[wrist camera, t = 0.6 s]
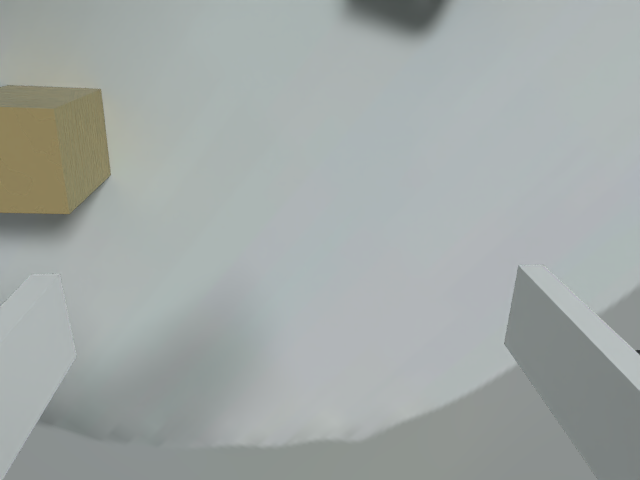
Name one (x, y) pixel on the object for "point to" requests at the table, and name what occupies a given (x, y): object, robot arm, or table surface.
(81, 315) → the table surface
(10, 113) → the tan rectangular block
